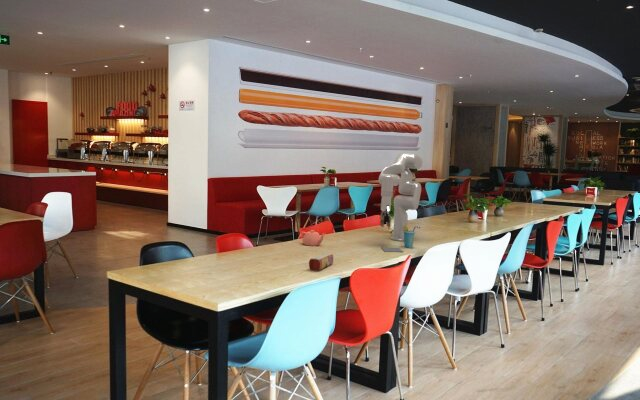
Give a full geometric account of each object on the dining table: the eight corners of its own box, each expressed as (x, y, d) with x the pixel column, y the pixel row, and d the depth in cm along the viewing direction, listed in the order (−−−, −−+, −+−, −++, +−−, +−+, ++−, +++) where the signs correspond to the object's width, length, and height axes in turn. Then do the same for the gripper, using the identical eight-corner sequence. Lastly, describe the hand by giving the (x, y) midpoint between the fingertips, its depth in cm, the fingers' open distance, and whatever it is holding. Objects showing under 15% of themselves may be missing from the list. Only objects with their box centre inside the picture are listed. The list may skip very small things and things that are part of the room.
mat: (381, 248, 365) (381, 247, 365) (399, 248, 366) (399, 247, 366) (384, 251, 353) (384, 251, 353) (403, 252, 354) (403, 251, 354)
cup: (421, 248, 370) (423, 225, 369) (415, 249, 364) (417, 226, 363) (403, 245, 379) (404, 223, 378) (397, 246, 373) (398, 224, 372)
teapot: (305, 241, 375) (306, 227, 374) (329, 245, 366) (330, 230, 365) (296, 244, 365) (296, 229, 364) (320, 247, 356) (321, 233, 355)
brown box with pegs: (379, 225, 373) (380, 214, 372) (388, 225, 374) (389, 215, 373) (381, 226, 367) (382, 216, 366) (390, 227, 368) (391, 216, 367)
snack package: (323, 263, 312) (323, 251, 311) (334, 264, 310) (334, 252, 309) (308, 270, 292) (308, 257, 292) (319, 272, 290) (320, 259, 289)
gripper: (378, 192, 376) (377, 219, 378) (383, 195, 359) (382, 223, 361) (389, 192, 377) (388, 219, 379) (395, 195, 360) (393, 223, 362)
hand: (385, 221), depth 370 cm, fingers closed on brown box with pegs, 6 cm apart
